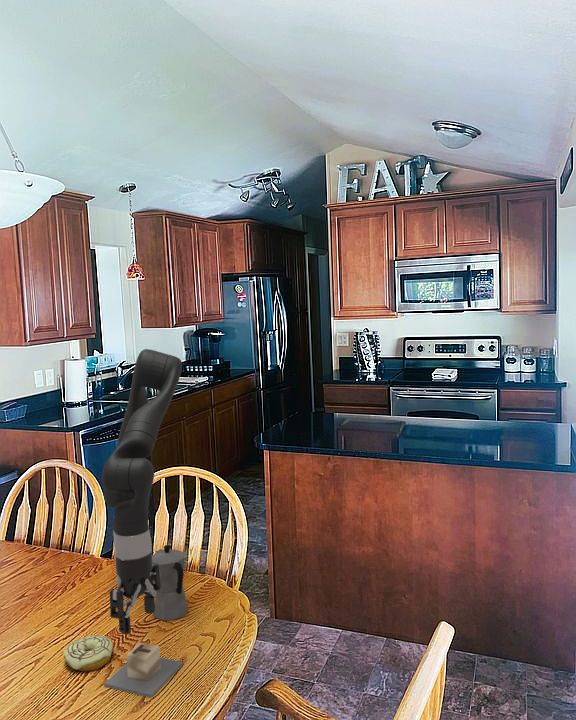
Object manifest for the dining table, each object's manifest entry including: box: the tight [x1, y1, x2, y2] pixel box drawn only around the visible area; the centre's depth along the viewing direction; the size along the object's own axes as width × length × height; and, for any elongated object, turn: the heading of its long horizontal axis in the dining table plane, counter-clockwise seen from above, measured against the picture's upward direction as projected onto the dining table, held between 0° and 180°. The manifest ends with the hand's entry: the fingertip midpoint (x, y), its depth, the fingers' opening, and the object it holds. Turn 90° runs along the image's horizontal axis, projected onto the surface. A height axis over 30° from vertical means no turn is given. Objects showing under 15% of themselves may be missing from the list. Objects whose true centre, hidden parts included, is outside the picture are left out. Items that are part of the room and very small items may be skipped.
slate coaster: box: [103, 656, 184, 699], centre depth 135 cm, size 12×12×1 cm
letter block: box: [126, 642, 161, 681], centre depth 135 cm, size 5×5×5 cm
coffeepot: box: [152, 544, 189, 622], centre depth 160 cm, size 15×9×18 cm, turn 33°
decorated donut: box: [63, 634, 114, 672], centre depth 142 cm, size 10×11×4 cm
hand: (138, 622), depth 134 cm, fingers open, 8 cm apart
